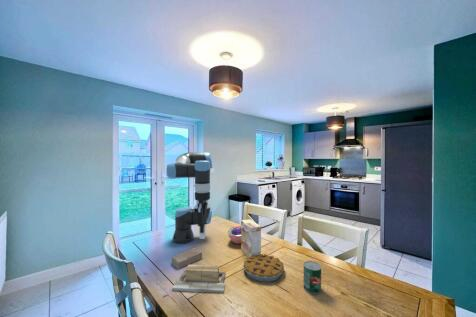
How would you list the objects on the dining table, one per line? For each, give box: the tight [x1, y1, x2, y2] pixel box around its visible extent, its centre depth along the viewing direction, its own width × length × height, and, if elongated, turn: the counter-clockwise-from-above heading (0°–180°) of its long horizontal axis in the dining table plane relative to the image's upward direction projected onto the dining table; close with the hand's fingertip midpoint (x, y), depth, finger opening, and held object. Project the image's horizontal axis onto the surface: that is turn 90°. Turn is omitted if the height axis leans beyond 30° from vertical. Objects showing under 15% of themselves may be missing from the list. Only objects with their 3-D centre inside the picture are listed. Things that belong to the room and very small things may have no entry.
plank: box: [184, 264, 220, 283], centre depth 101 cm, size 5×16×6 cm, turn 86°
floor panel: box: [171, 270, 226, 294], centre depth 99 cm, size 14×24×1 cm, turn 86°
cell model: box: [226, 225, 241, 245], centre depth 146 cm, size 17×20×11 cm
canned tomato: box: [303, 260, 322, 295], centre depth 94 cm, size 8×8×11 cm
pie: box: [242, 253, 285, 283], centre depth 109 cm, size 22×22×5 cm
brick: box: [170, 247, 203, 270], centre depth 119 cm, size 17×8×5 cm, turn 136°
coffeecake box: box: [240, 219, 262, 258], centre depth 128 cm, size 15×7×20 cm, turn 23°
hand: (202, 238), depth 101 cm, fingers closed
